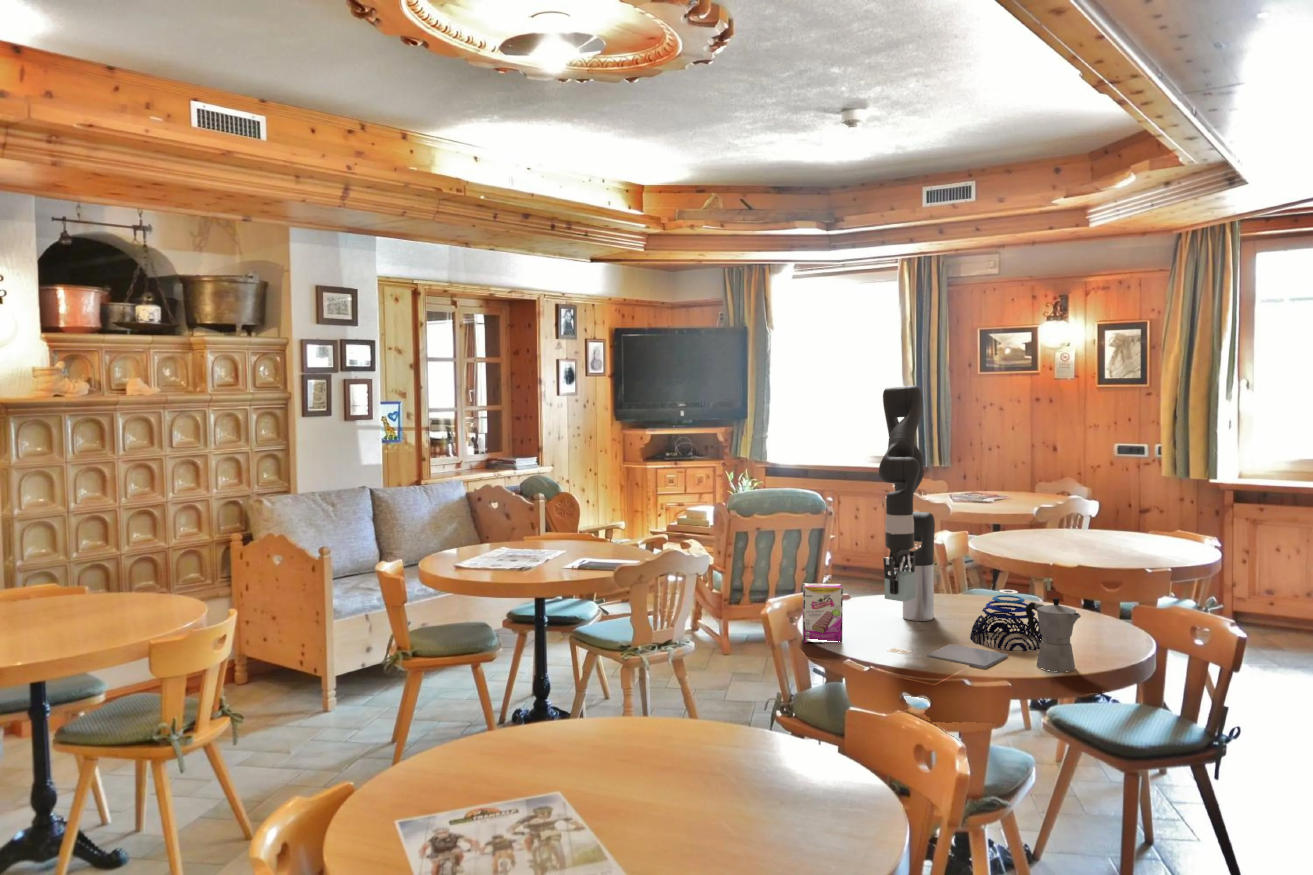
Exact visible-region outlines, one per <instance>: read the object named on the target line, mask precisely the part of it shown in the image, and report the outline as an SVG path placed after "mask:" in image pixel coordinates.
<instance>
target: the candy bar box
mask: <svg viewBox="0 0 1313 875" xmlns="http://www.w3.org/2000/svg"><path fill="white" fill-rule="evenodd" d="M843 588H844V587H843V585H842V584H841V583H815V582H814V583H811V582H810V583H806V582H804V583H803V582H802V643H803V644H808V643H807V639H818V640H827V641H838V642H839V641H840V642H842V643H843V611H844V610H843V609H844V608H843V605H844V604H843V601H844V600H843V599H844V598H843V595H844V593H843V591H844V590H843Z"/></svg>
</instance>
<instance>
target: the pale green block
mask: <svg viewBox="0 0 1313 875" xmlns="http://www.w3.org/2000/svg"><path fill="white" fill-rule="evenodd" d="M888 574H889V571H888ZM895 574H896V572H895ZM914 598H915V572H907V571H902V572H901V573H900V574H899V578H898V594H896V595H895V594H891V593H890V580H888V579H885V578H884V599H885V600H891V601H896V602H902V603H903V602H906V601H909V600H911V599H914Z"/></svg>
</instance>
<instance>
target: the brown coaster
mask: <svg viewBox="0 0 1313 875" xmlns="http://www.w3.org/2000/svg"><path fill="white" fill-rule="evenodd" d="M887 652H890V653H897V654H900V655H908V654H910V653H912V652H913V651H912V650H909V649H902V648H897V647H893V648H891V649H888V650H887Z"/></svg>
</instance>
